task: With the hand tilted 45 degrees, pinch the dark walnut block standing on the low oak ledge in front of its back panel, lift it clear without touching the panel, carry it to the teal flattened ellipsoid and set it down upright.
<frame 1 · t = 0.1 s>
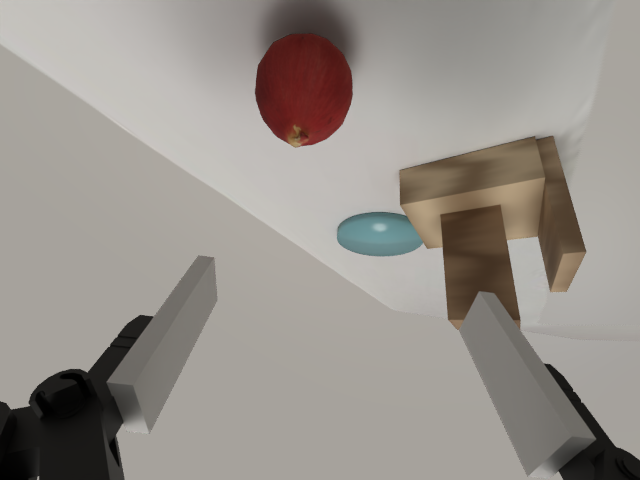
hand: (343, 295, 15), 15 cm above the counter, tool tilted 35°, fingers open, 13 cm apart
block: (472, 221, 29), point 4 cm above the counter, touching ledge
ledge: (467, 187, 31), on the counter
teal flattened ellipsoid: (379, 233, 42), on the counter
onion: (311, 50, 19), on the counter
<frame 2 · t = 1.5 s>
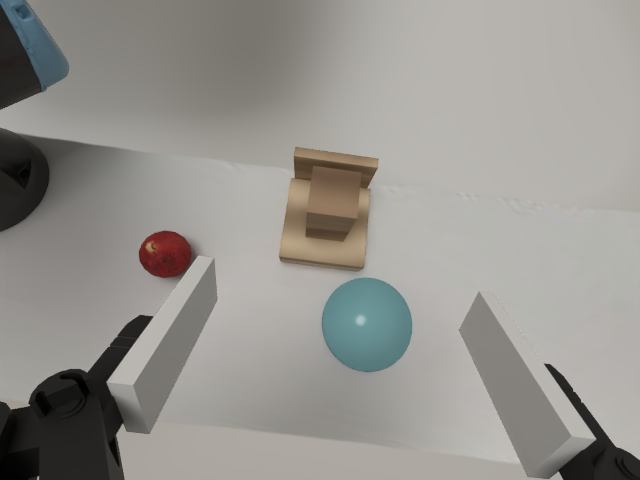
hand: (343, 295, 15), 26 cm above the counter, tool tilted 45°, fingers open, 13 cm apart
block: (326, 221, 39), point 4 cm above the counter, touching ledge
ledge: (324, 229, 43), on the counter
teal flattened ellipsoid: (365, 322, 40), on the counter
onion: (178, 259, 41), on the counter
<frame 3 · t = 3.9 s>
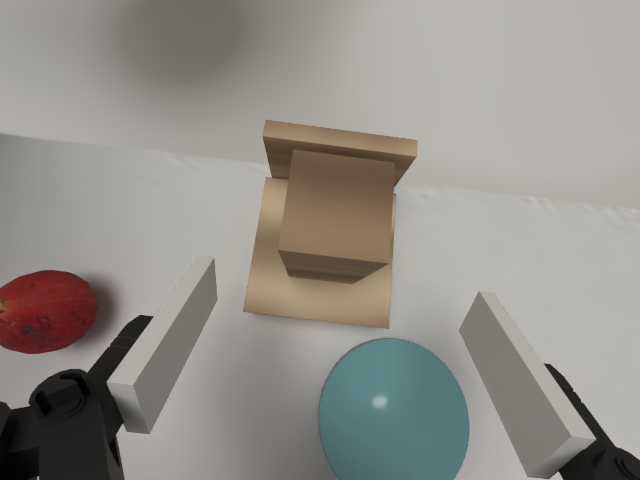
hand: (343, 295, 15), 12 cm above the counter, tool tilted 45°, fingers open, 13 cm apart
block: (324, 249, 23), point 4 cm above the counter, touching ledge
ledge: (321, 258, 27), on the counter
teal flattened ellipsoid: (390, 414, 24), on the counter
onion: (85, 311, 25), on the counter
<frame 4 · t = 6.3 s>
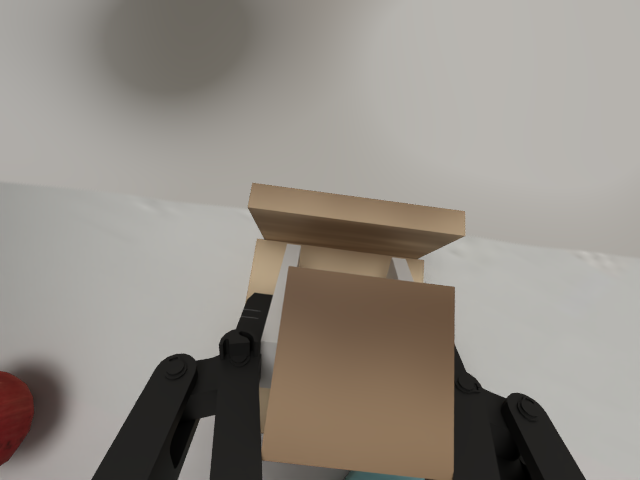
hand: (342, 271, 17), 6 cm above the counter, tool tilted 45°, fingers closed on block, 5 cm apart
block: (331, 337, 18), point 4 cm above the counter, touching gripper, ledge
ledge: (326, 333, 22), on the counter
onion: (25, 406, 20), on the counter
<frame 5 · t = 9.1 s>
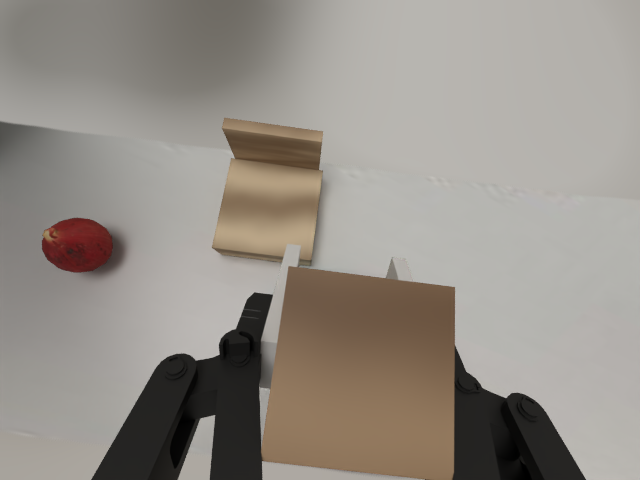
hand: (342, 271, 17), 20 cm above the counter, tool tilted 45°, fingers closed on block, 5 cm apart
block: (331, 337, 18), point 18 cm above the counter, touching gripper
ledge: (273, 218, 38), on the counter
onion: (103, 252, 36), on the counter
when the fingers open (5 cm above the counter, at t = 12.0 s): block drops 1 cm, resting on teal flattened ellipsoid.
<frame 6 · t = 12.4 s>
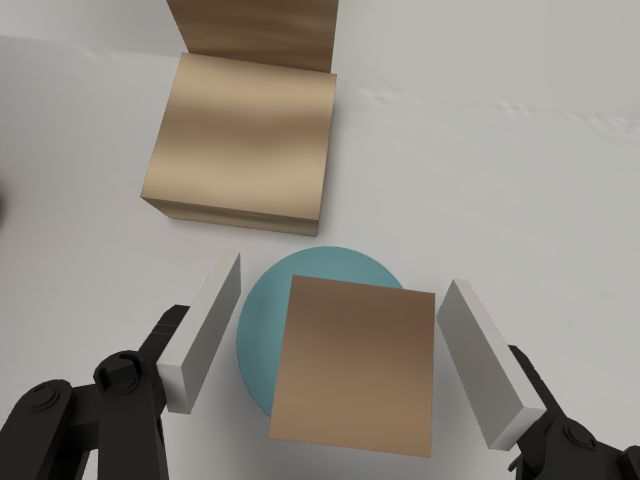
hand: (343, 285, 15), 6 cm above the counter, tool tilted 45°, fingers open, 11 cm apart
block: (330, 337, 19), point 1 cm above the counter, touching teal flattened ellipsoid
ledge: (255, 161, 23), on the counter
teal flattened ellipsoid: (328, 334, 20), on the counter
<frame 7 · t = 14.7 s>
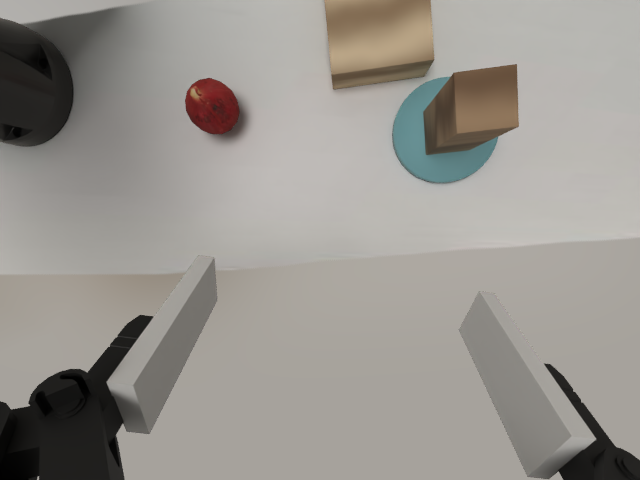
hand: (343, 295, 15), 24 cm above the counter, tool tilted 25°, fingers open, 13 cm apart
block: (446, 131, 35), point 1 cm above the counter, touching teal flattened ellipsoid
ledge: (374, 35, 35), on the counter
teal flattened ellipsoid: (442, 133, 36), on the counter
onion: (226, 117, 38), on the counter
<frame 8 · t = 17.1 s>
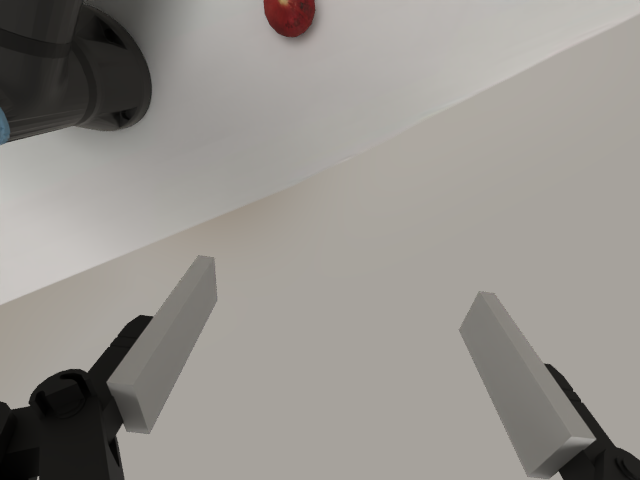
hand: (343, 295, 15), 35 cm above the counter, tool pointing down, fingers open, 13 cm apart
onion: (293, 11, 37), on the counter
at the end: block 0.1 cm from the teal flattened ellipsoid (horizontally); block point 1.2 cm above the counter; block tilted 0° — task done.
